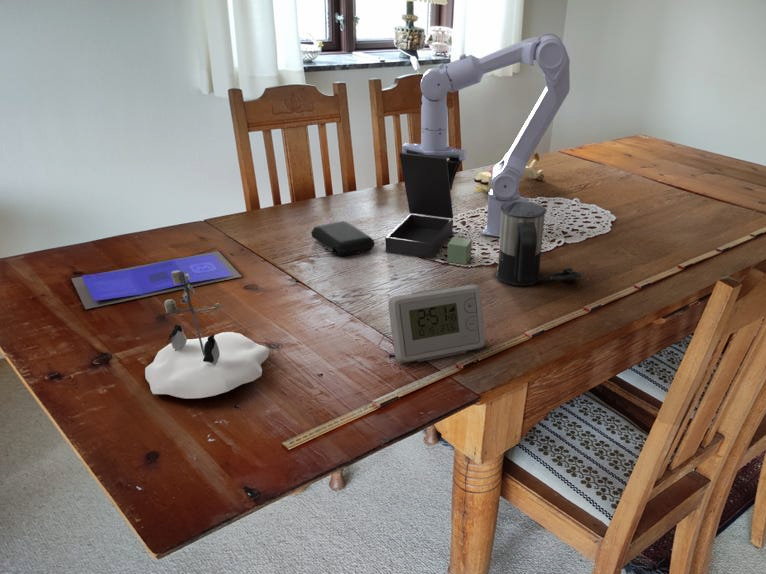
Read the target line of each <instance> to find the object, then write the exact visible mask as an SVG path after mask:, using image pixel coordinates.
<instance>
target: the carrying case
mask: <svg viewBox="0 0 766 574" xmlns="http://www.w3.org/2000/svg"><path fill="white" fill-rule="evenodd" d="M310 233H311V237H312V238H313V239H315V240H316V241H317V242H319V243H320V244H322V245H323V249H324V250H325V251H326V252H330V253H332V254H336V255H337V256H340V257H346V256H351V255H355V254H359V253H364V252H368V251H369V252H370V251H371V250H372V249H373V248H374V247H375V245H376V242H375V240H374V239H373V238H372V237H371V236H369V235H368V234H367V233H365V232H364V231H362V230H361V229H359V228H358V227H356V226H354V225H353V224H351V223H350V222H348V221H345V220H340V221H334V222H330V223H323V224H320V225H315V226H314V227H313V229H312V230H311V232H310Z"/></svg>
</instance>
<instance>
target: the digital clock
mask: <svg viewBox="0 0 766 574" xmlns="http://www.w3.org/2000/svg"><path fill="white" fill-rule="evenodd" d="M387 302H388V313H389V320H390V328H391V336H392V344H393V351H394V357H395V360H396V362H397V363H398V364H406V363H407V364H408V363H411V362H412V363H413V362H416V363H421V362H425V361H432V360H435V359H440V358H447V357H452V356H456V355H457V356H458V355H461V354H466V353H467V352H469V351H474V350H479V349H483V348H484V347H485V345H486V335H485V324H484V314H483V305H482V303H483V302H482V295H481V289H480V286H479V285H478V284H466V285H459V286H457V285H453V286H447V287H446V286H445V287H439V288H434V289H427V290H420V291H413V292H411V293H407V294H401V295H395V296H391V297H390V298H389V299H388V301H387Z"/></svg>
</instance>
